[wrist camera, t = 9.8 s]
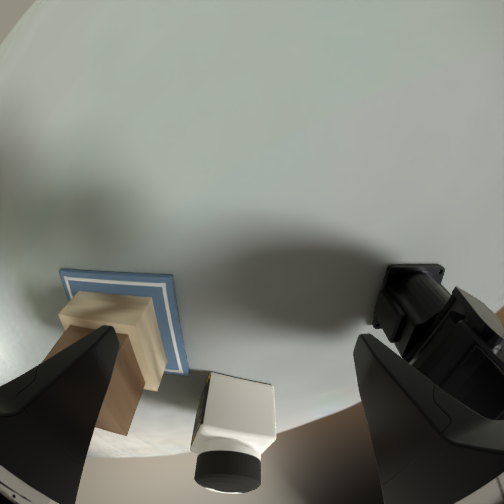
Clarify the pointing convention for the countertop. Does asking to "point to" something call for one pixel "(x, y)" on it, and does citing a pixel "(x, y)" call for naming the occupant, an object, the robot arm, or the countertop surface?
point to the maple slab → (122, 326)
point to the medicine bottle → (232, 433)
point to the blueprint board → (139, 285)
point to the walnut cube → (113, 382)
